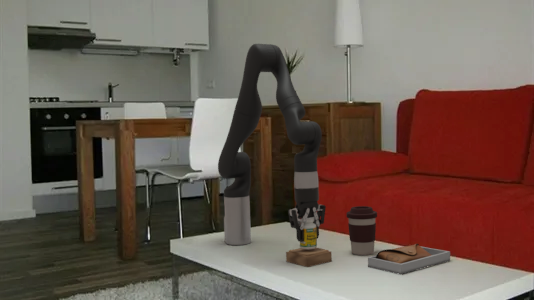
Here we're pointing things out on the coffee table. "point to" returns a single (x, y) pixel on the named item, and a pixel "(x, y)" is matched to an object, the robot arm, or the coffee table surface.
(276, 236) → the coffee table surface
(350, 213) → the coffee cup
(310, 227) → the supplement bottle
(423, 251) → the brown elongated piece
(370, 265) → the tray
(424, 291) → the coffee table surface
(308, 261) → the walnut base
